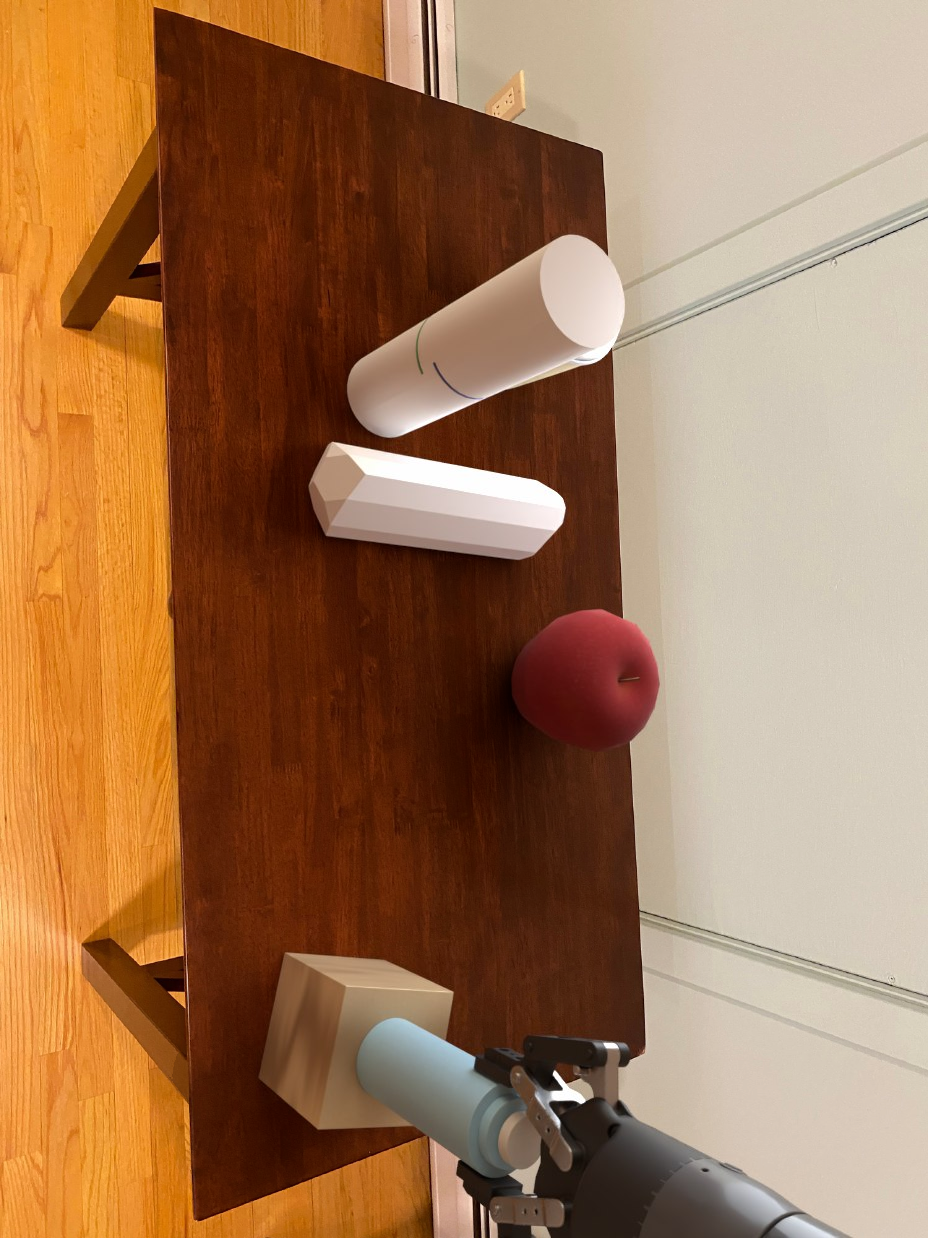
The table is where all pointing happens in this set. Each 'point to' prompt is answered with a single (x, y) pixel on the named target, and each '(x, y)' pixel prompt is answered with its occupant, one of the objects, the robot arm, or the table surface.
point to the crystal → (431, 504)
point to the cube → (340, 1033)
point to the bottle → (447, 1097)
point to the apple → (587, 680)
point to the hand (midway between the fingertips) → (478, 1113)
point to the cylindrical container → (492, 338)
